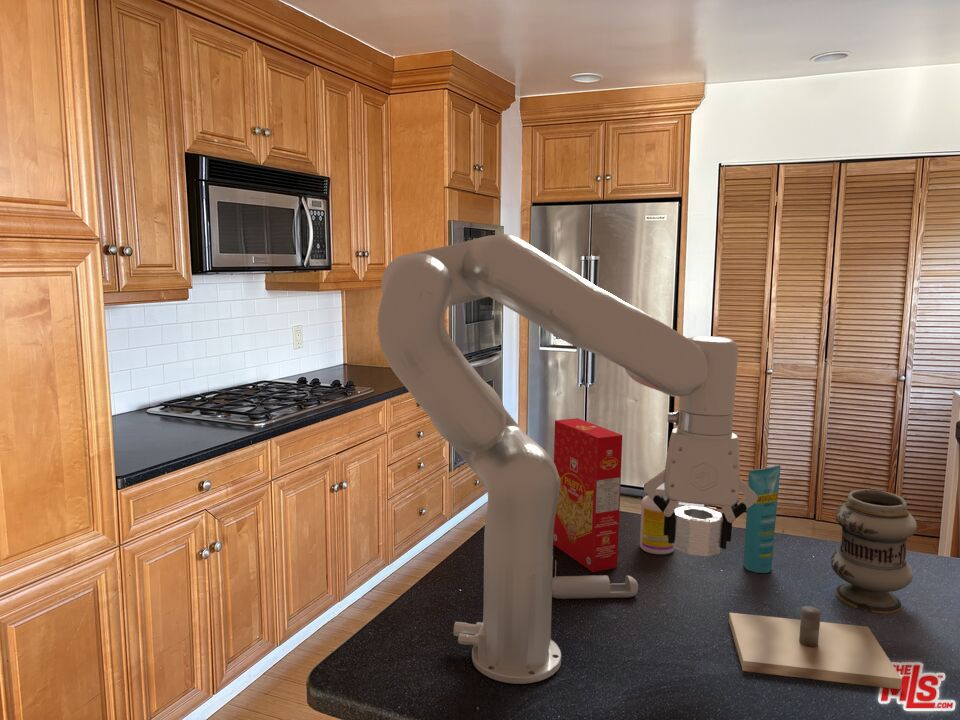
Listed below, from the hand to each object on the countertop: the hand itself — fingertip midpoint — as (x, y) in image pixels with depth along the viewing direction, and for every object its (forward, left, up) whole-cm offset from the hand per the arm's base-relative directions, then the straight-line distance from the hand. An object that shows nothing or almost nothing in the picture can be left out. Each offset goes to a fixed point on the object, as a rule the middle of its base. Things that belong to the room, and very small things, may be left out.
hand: (696, 541), depth 105 cm
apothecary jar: (+30, +20, -16) cm, 40 cm away
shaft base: (+16, 0, -15) cm, 22 cm away
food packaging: (-18, +28, -16) cm, 37 cm away
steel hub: (0, 0, -1) cm, 1 cm away
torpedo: (-16, +11, -16) cm, 25 cm away
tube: (+14, +29, -16) cm, 36 cm away
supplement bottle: (-4, +34, -16) cm, 38 cm away
